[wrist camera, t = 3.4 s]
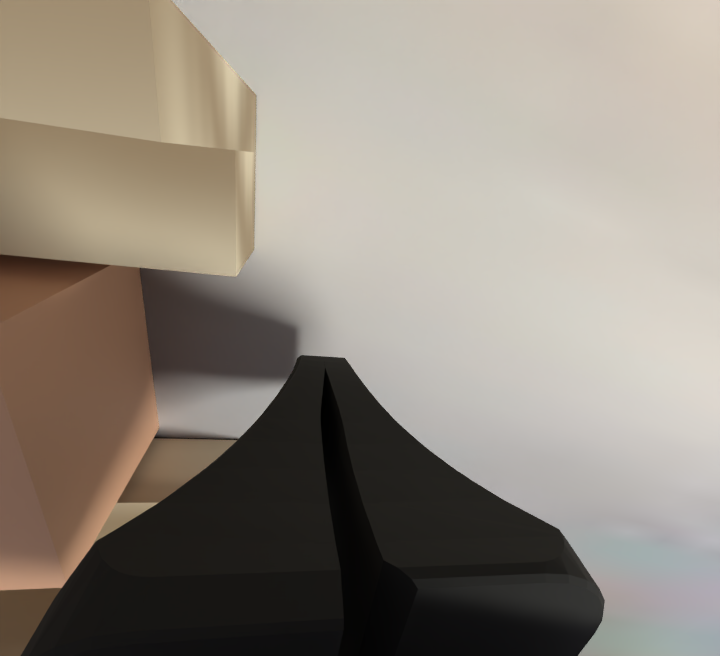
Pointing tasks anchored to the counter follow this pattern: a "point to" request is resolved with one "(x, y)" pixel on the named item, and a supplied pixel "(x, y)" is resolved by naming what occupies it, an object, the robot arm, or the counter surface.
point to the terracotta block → (67, 409)
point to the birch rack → (121, 180)
